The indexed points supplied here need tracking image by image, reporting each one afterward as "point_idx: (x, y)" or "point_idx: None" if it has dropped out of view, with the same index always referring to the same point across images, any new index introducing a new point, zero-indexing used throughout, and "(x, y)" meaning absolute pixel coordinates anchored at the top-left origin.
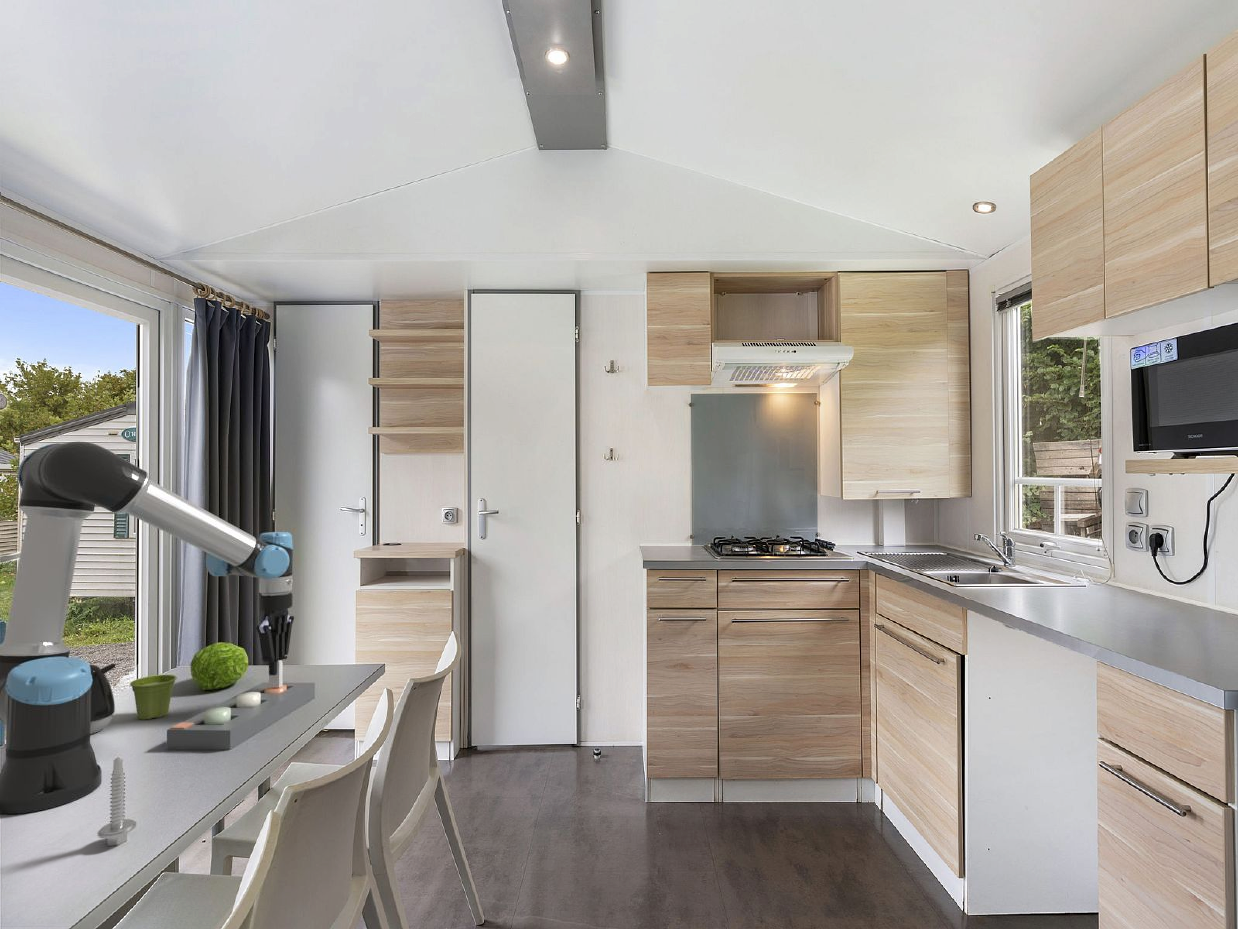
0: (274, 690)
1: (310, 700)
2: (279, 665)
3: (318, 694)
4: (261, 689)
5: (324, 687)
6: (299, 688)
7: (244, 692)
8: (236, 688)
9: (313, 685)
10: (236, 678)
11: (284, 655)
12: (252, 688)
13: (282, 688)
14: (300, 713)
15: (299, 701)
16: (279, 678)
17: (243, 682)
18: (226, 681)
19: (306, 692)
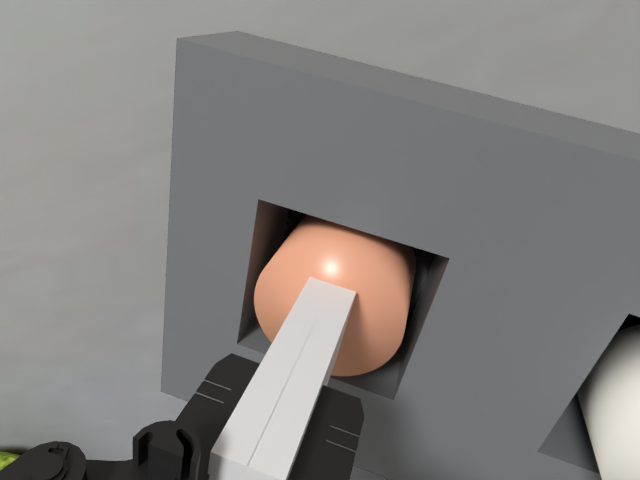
0: (405, 311)
1: (291, 45)
2: (294, 435)
3: (151, 31)
4: None
5: (14, 37)
6: (337, 132)
7: (355, 458)
8: (77, 439)
9: (204, 42)
10: None
11: (128, 476)
12: None
13: (361, 265)
14: (609, 29)
15: (441, 90)
16: (333, 336)
17: (7, 425)
18: None
19: (327, 68)
